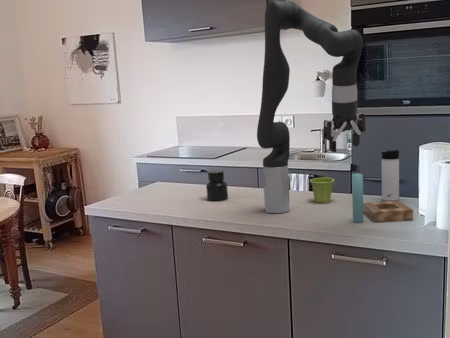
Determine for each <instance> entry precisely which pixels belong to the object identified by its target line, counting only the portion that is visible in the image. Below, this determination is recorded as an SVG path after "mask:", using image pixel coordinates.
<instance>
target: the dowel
mask: <svg viewBox="0 0 450 338" xmlns="http://www.w3.org/2000/svg"><path fill="white" fill-rule="evenodd" d="M363 176H364V175H363V173H352V174H351V185H352V187H351V190H352V191H351V192H352V193H351V194H352V222H353V223H359V224H360V223H361V224H362V223H363V222H364V213H363V203H364V177H363Z"/></svg>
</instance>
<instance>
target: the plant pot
mask: <svg viewBox="0 0 450 338" xmlns="http://www.w3.org/2000/svg"><path fill="white" fill-rule="evenodd" d="M309 182H310V183H311V187H312V192H313V198H314V203H322V204H325V203H326V204H327V203H329V202H331V199H332V190H333V185H334V182H335V179H334V178H331V177H315V178H311V179H310V180H309Z"/></svg>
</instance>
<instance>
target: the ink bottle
mask: <svg viewBox="0 0 450 338" xmlns="http://www.w3.org/2000/svg"><path fill="white" fill-rule="evenodd" d="M207 178H208V179H207V180H208V182H207V183H206V188H205V189H206V198H207V200H208V201H210V200H212V202H218V201H219V200H221V201H224V200H227V199H229V193H228V183H227V182H226V181H225V172H224V170H221V169H216V170H209V171H207ZM219 202H220V201H219Z"/></svg>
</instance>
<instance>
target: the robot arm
mask: <svg viewBox="0 0 450 338" xmlns="http://www.w3.org/2000/svg"><path fill="white" fill-rule="evenodd" d="M290 29H294V30H299V31H302V33H303V35H304V36H305V38H307V39H308V40H309V41H311V42H313V43H315V44H316V45H319V46H321V48H322V50H323V51H325V52H326V54H328V56H331V57H335V58H340V57H342V59H341V60H340V62H338V63H337V64H335V65H334V66H333V67H332V70H331V71H332V77H331V79H332V80H331V81H332V82H331V83H332V87H331V113H332V114H331V115H332V119H331V120H327V119H325V120H323V132H322V135H323V137H322V138H323V139H324V140H327V141H328V149H329V151H330V152H332V153H336V152H337V138H338V136H340V135H341V133H344V132H346V131H351V132H352V133H353V134H352V142H351V143H352V145H353V147H356V148H357V147H359V144H360V141H361V139H360V137H361V134H362V133H364V132H366V114H365V113H363V112H359V111H358V87H357V86H358V85H357V71H358V70H357V69H358V66H359V62H360V58H361V55H362V50H363V46H364V45H363V37H362V35H361V33H360V32H359V31H358V30H357V29H347V30H343V31H339V30H338V27H337V26H335V24H332V23H330V22H328V21H326V20H324V19H321V18H318V17H317V16H315V15H313V14H311V13H310V12H308V11H307V10H305V9H304V8H303V7H302V6H301V5H299V4H298V3H296V2H295V1H291V0H270V1H269V2H268V3H267V5H266V7H265V11H264V62H263V63H264V64H263V71H262V72H263V74H262V84H261V85H262V88H261V89H262V90H261V103H260V109H259V110H260V111H259V117H258V121H257V122H258V123H257V130H256V139H257V143H258V145H259V147H260V148H262V149H266V150H267V149H272V151H271V152H270V153H269V154H268V155H266V156H265V157H263V159H262V168H263V173H262V174H263V198H264V199H263V200H264V211H265V213H267V214H283V213H288V212H289V211H290V209H291V208H290V206H291V205H290V203H291V202H290V184H289V183H290V182H289V159H290V143H291V142H290V141H291V139H290V130H289V127H288V125H287V124H286V123H285V121H284V122H283V121H275V116H276V111H277V109H278V107H279V106H280V104H281V102H282V101H283V99H284V97H285V95H286V94H287V91H288V89H289V85H290V84H289V83H290V71H291V69H290V68H291V67H290V65H289V62H288V60H287V57H286V55H285V53H284V51H283V49H282V45H281V30H290ZM274 121H275V122H274ZM356 123H357V124H356Z"/></svg>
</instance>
